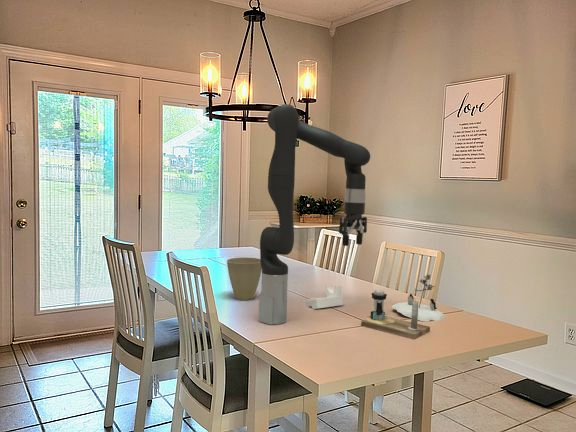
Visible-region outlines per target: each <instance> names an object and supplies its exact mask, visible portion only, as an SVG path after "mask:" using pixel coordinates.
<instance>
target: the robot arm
mask: <svg viewBox="0 0 576 432" xmlns="http://www.w3.org/2000/svg"><path fill="white" fill-rule="evenodd" d="M299 117H300V116H299V113H298V111H297V109H296V108H295V106H293V105H291V104H288V103H284V104H280V105H278V106H276V107H273V108H272V109H271V110H270V111H269V112H268V114H267V118H266V121H267V124H268V127H269V128H270V129H271V130H272V131H273V132H274V149H273V152H272V155H271V158H270V162H269V166H268V173H267V174H268V176H267V191H268V195H269V197H270V199H271V201H272V202H273V205H274V207H275V208H276V211H277V214H278V222H279V225H278V226H279V227H277V226H276V227H275V226H267V227H265V228H263V230H262V232H261V234H260V240H259V254H260V255H259V257H260V258H259V259H260V263H261V267H262V270H261V286H260V287H261V291H260V294H259V295H258V322H260V323H263V324H266V325H271V326H272V325H281V324H285V323H286V322H287V319H288V318H287V317H288V316H287V314H288V289H289V288H288V285H289V284H288V283H289V282H288V280H289V266H288V264H286V263H285V262H283V261H282V260H281V259H280V258H279V257H278V255H282V256H283V255H284V256H288V255H289V254H291V252H292V251H293V249H294V244H295V225H294V222H295V221H294V196H295V195H294V194H295V179H296V177H295V176H296V174H295V173H296V172H295V171H296V170H295V169H296V146H297V145H296V144H297V140H300V141H303V142H305V143H307V144H310V145H311V146H314V147H315V148H317V149H319V150H321V151H324V152H325V153H328V154H329V155H332V156H334V157H337V158H342V159H343V161H344V170H345V174H346V176H345V177H346V181H345V193H344V203H343V204H344V205H343V206H344V207H343V208H344V209H343V213H344V215H345V216H341V217H340V218H339V228H338V233H339V234H340V235H342V245H343V247H344V246H345V247H347V246H348V247H349V245H350V234H351V232H352V231H353V230H355V232H356V239H355V244H356V245H359V246H360V245H362V244H363V235H365V233H367V230H368V217H367V216H364V215H365V209H366V179H367V178H366V175H365V173H363V171H362V167H364V166H366V165H367V164H369V162H370V160H371V153H370V151H369V149H367V147H365V146H363V145H361V144H359V143H355V142H353V141H350V140H346V139H344V138H343V137H341V136H339V135H337V134H336V133H334V132H331V131H329V130H326V129H323V128H320V127H317V126H314V125H310V124H308V123H306V122H304V121H302V120H300V118H299ZM362 215H363V216H362Z"/></svg>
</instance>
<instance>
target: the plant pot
mask: <svg viewBox="0 0 576 432" xmlns="http://www.w3.org/2000/svg"><path fill="white" fill-rule="evenodd" d="M226 264H227V265H226V266H227V271H228V272H227V273H228V277H229V281H230V285H231V288H232V292H233V295H234V297H235V299H236V298H237V299H236V300H238V299H241V300H240V301H249V299H250V300H252V299H254V297H255V295H256V292H257V289H258V286H259V282H260V279H261V276H262V267H261V263H260V258H257V257H248V256H247V257H245V256H244V257H243V256H241V257H231V258H227V259H226Z"/></svg>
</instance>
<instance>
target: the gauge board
mask: <svg viewBox="0 0 576 432" xmlns="http://www.w3.org/2000/svg"><path fill="white" fill-rule="evenodd" d="M418 303H419V301H416V302H415V301H414V302H412V318H410V319H411V321H407V320H402V319H398V318H393V317H389V316H388V317H385V319H382V320H373V319H371V315H369V316H367V317H365V319H364V320H361V322H360V326H361V327H365V328H369V329H373V330H377V331H380V332H384V333H388V334H392V335H395V336H400V337H403V338H408V339H412V340H414V339H417V338H419V337H422V336H423V335H425V334H427V333H429V332H430V331H431V326H428V325H423V324H420V323H418V321H419V320H418Z"/></svg>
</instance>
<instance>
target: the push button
mask: <svg viewBox="0 0 576 432" xmlns="http://www.w3.org/2000/svg"><path fill="white" fill-rule="evenodd" d="M387 297H388V294H387V293H386V292H385V290H380V289H379V290H378V289H377V290H373V292H372V293H371V299H373V310H372V311H370V316H371V319H373V320H382V319H385V317H389V316H387V315H388V313H386V311H384V304H385V303H384V301H385V300H386V299H387Z"/></svg>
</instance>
